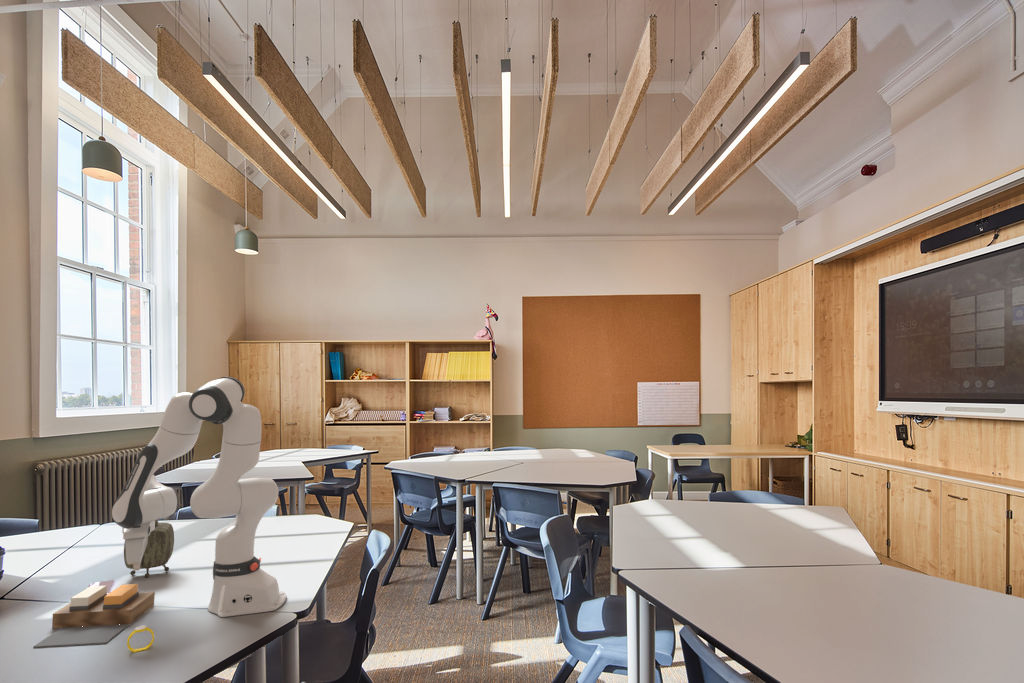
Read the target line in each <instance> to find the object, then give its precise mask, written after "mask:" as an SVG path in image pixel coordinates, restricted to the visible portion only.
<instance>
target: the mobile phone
mask: <svg viewBox="0 0 1024 683" xmlns="http://www.w3.org/2000/svg"><path fill="white" fill-rule="evenodd" d="M115 583H116V580H114V579H110V580H105V581H97V582H91V583H89V584H88V586H87V588H88V587H90V586H105V585H107V592H106V593H107V594H109V593H110V592H112V591H113V587H114V586H115Z"/></svg>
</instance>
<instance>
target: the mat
mask: <svg viewBox="0 0 1024 683" xmlns="http://www.w3.org/2000/svg"><path fill="white" fill-rule="evenodd" d="M129 626H130V624H120V625H101V626H83V627H64V628H59V629H57V630H56V631H54V632H52V633H51V634H50V635H48V636H47V637H45V638H43V640H40V641H39V642H38V643H36V644H35V645H33V649H36V648H37V649H38V648H41V649H42V648H56V647H73V646H91V645H106V644H108V643H110V642H111V641H112V640H113V639H114V638H115V637H116V636H117V637H118V635H119V634H121V633H122V632H123V631H124V630H126V629H127V628H128V627H129Z"/></svg>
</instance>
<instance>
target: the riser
mask: <svg viewBox="0 0 1024 683" xmlns="http://www.w3.org/2000/svg"><path fill="white" fill-rule="evenodd" d="M155 595H156V594H155V591H147V592H146V591H145V592H139V596H137V597H136V598H135V599H133V600H132V601H131V602H129V603H128V604H127V605H125V606H124V607H122V608H121V609H103V605H104V600H102V601H101V602H99V603H98V604H96V605H95V606H93V607H92V608H90V609H89V610H81V611H69V607H70V606H71V602H70V603H68V604H67V605H65V606H63V607H61V608H60V609H58V610H57V611H55V612H54V613H52V622H51V623H52V625H51V628H52V629H58V628H59V629H60V628H64V627H82V626H101V625H119V624H129V625H131V624H133V623H132V622H133V621H134V622H135V621H136V620H138V619H139V618H140V617H141V616H143V615H144V614H145V613H146V612H148V611H149V610H150V609H151V608H153V607H154V605H155Z"/></svg>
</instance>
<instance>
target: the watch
mask: <svg viewBox="0 0 1024 683" xmlns="http://www.w3.org/2000/svg"><path fill="white" fill-rule="evenodd" d="M145 631H146V632H149V633H150V634H151V635H152V637H151V638H152V639H151V641H150V643H149V644H148V645H146V646H144V647H140V648H133V647H131V645H130V640H131V638H132V637H133V636H134V635H135V634H137V633H142V632H145ZM154 641H155V633H154V631H153V629H152V628H149V627H148V626H147V625H144V624H143V625H139V626H136V627H134V630H133V631H131V632H130V634H129V636H128V637H127V640H126V646H127V649H128V651H131V652H132V653H134V654H135V653H138V652H143V651H146V650H149V649H150V648H151V647H152V645H153V644H154Z"/></svg>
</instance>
